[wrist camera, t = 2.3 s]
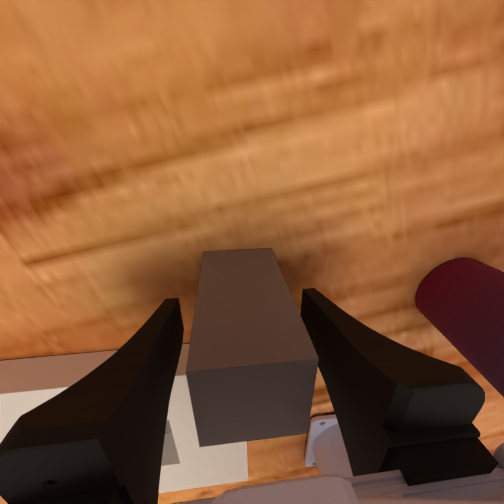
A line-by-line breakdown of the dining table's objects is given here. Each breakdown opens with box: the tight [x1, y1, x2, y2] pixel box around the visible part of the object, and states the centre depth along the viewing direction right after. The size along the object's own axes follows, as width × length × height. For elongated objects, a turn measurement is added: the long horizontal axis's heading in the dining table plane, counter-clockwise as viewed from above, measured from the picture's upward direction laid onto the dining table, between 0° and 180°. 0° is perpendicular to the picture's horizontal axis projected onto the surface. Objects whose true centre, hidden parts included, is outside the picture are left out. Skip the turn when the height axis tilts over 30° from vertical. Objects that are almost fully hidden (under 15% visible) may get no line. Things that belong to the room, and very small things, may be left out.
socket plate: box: [0, 344, 248, 493], centre depth 19 cm, size 16×14×2 cm
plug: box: [186, 248, 319, 447], centre depth 12 cm, size 4×4×8 cm
